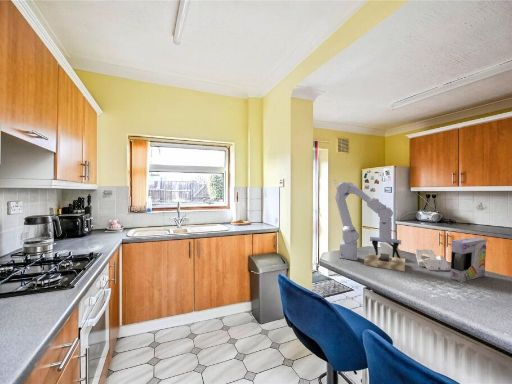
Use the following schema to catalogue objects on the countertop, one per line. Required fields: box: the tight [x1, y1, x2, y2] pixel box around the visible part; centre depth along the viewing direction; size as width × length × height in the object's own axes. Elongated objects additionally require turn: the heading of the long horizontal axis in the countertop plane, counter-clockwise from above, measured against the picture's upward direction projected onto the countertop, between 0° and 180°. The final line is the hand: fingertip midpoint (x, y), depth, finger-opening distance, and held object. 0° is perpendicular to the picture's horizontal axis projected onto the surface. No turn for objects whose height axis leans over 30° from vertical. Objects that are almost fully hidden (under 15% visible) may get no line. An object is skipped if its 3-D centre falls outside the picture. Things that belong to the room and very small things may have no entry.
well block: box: [364, 253, 406, 272], centre depth 128 cm, size 18×13×3 cm
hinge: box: [379, 242, 406, 260], centre depth 144 cm, size 17×5×10 cm, turn 178°
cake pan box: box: [450, 236, 487, 283], centre depth 110 cm, size 19×5×18 cm, turn 112°
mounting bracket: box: [414, 248, 451, 271], centre depth 124 cm, size 12×6×11 cm, turn 87°
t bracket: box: [379, 252, 389, 262], centre depth 128 cm, size 4×7×6 cm, turn 147°
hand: (384, 256), depth 128 cm, fingers open, 7 cm apart
